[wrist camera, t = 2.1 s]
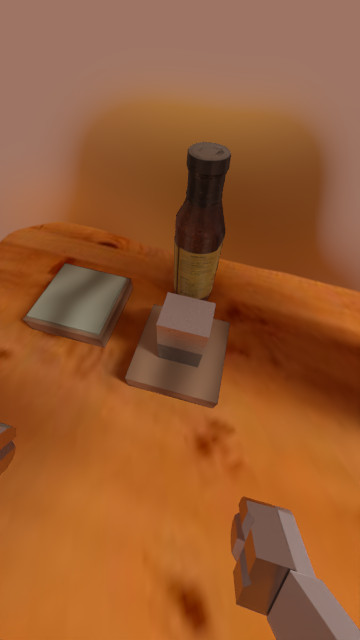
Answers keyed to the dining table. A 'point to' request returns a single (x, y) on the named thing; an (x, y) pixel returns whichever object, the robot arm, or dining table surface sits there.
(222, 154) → the sauce bottle
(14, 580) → the dining table surface
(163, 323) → the housing
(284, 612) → the robot arm
